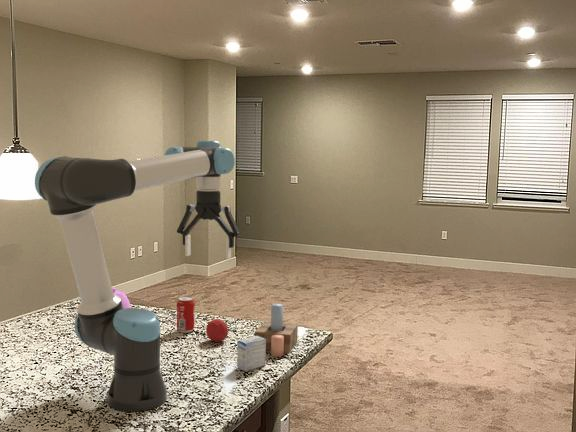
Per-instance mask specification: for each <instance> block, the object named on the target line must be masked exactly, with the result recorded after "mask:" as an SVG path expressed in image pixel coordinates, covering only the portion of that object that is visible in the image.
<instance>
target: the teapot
mask: <svg viewBox="0 0 576 432" xmlns="http://www.w3.org/2000/svg"><path fill="white" fill-rule="evenodd" d="M112 289H113V293H114V294H116V295H118V296H120V298H121V302H122V306H123V309H126V308H132V307H131V303H130V300H129V298H128V297H127V295H126V293H125V292H124V291H122V290H119V289H117V288H116V287H112Z"/></svg>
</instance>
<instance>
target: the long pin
mask: <svg viewBox="0 0 576 432" xmlns="http://www.w3.org/2000/svg"><path fill="white" fill-rule="evenodd" d="M270 306H271V307H270V308H271V309H270V311H271V312H270V323H271V330H275V331H283V324H284V305H283V303H271V305H270Z"/></svg>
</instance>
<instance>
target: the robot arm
mask: <svg viewBox="0 0 576 432" xmlns="http://www.w3.org/2000/svg"><path fill="white" fill-rule="evenodd" d="M235 160H236V159H235V154H234V152H233V151H232V150H231V149H230V148H227V147H222V146H221V143H220V142H219V141H218V140H197V142H196V146H178V145H177V146H171V147H168V148H167V149H166V151H165V153H164V155H159V156H155V157H154V156H153V157H147V158H141V159H135V160H127V159H125V158H118V159H116V158H115V159H101V158H100V159H99V158H90V157H69V156H66V155H64V156H58V157H52V158H49V159H47V160H45V161H44V162H43V163H41V165H40V166H39V167H38V169H37V171H36V173H35V177H34V187H35V190H36V192H37V194H38V195H39V197H41V198H42V200H44V201H46V202H47V205H48V207H49V211H50V212H49V213H50V215H51V216H53V217H55V218H56V219H58V221H59V225H60V227H61V231H62V235H63V239H64V243H65V246H66V250H67V255H68V257H69V261H70V266H71V269H72V272H73V275H74V280H75V283H76V287H77V291H78V295H79V298H80V303H79V304H78V306H77V308H76V309H77V310H76V311H77V315H76V319H75V320H74V332H75V335H76V337H77V339H78V340H79V341H80V342H82V344H83V345H86V346H87V347H88V348H91V349H92V350H93V349H94V350H97V351H100V352H103V353H106V354H109V355H112V356H113V363H114V364H113V365H114V366H113V369H114V370H113V372H114V373H113V376H112V378H111V381H110V384H109V385H110V386H109V388H108V391H107V405H108V406H109V407H110V408H112V409H114V410H117V411H122V412H142V411H146V410H147V411H148V410H152V409H155V408H157V407H159V406H161V405H163V404H164V403H165V402H166V401H167V394H168V393H167V391H168V390H167V386H166V383H165V381H164V378H163V375H162V373H161V365H160V364H161V331H162V330H161V325H160V318H159V316H158V315H157V314H156V313H155V312H153V311H151V310H149V309H146V308H138V307H131V308H126V309H123V306H122V302H121V298H120V296H118V295H116V294H114V293H113V289H112V288H113V286H112V282H111V278H110V274H109V269H108V266H107V262H106V258H105V255H104V250H103V247H102V242H101V239H100V235H99V231H98V227H97V223H96V222H97V221H96V219H95V215H94V214H95V213H94V210H95V209H96V207H97V205H100V204H103V203H104V204H105V203H106V202H110V201H111V202H112V201H116V200H120V199H122V198H126V197H127V198H128V197H130V196H133V195H134V193H135V191H140V190H141V191H142V190H145V189H149V188H155V187H158V186H159V187H160V186H163V185H168V184H173V183H178V182H182V181H186V180H187V181H188V180H190V179H196V184H195V187H196V189H197V190H196V194H195V195H196V196H195V197H196V204H195V205H194V204H192V203H191V204H187V205H186V209H185V213H184V215H183V216H182V217H183V218H182V219H181V221H180V223H179V226H178V227H177V230H176V233H177V234H181V235H182V245H183V246H185V248H184V250H185V252H184V253H185V254H184V255H185V257H189V256H191V255H192V254H191V252H192V248H191V247H192V245H191V242H192V239H191V234H189V233H190V232H191V231H192V230H193V229H194V228H195V226H196V225H197V224H198V223H199V222H200V220H205V221H206V220H208V221H213V220H214V221H215V222H217V224H218V225H219V227H220V228H221V230H223V232H224V233H225V234H226V236H227V237H226V238H225V240H226V241H225V244H226V245H225V249H226V251H225V259H228V260H229V259H231V258H232V248H234V246H235V237H238V236H240V234H241V232H240V230H239V228H238V225H237V223H236V221H235V219H234V217H233V215H232V210H231V206H230V205H225V206H222V205H221V191H220V189H221V175H227V174H229V173H231V172H232V171H233V169H234V168H235V164H236V161H235ZM194 211H195V212H196V213H197V214H195V216H194V218H193V219H192V220H191V221H190V223H189V219H190V218H191V216H192V213H193V212H194ZM221 212H223V214H224V215H225V218H226V220H227V223H228V224H229V225H228V224H227V223H226V221H225V220H224V219H223V217H222V215H221ZM188 223H189V224H188ZM187 224H188V225H187Z"/></svg>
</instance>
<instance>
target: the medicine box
mask: <svg viewBox="0 0 576 432" xmlns="http://www.w3.org/2000/svg"><path fill="white" fill-rule="evenodd" d="M236 346H237V350H236V351H237V353H236V354H237V355H236V359H237V361H236V363H237V365H236V367H237V369H239V370H242V371H244V372H249V371H252V370H254V369H255V370H256V369H258V368H261V367H264V366H266V353H267V352H266V351H267V350H266V339H264V338H262V337H259V336H255V335H253V336H250V337H246V338H243V339H239V340H237V345H236Z"/></svg>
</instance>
